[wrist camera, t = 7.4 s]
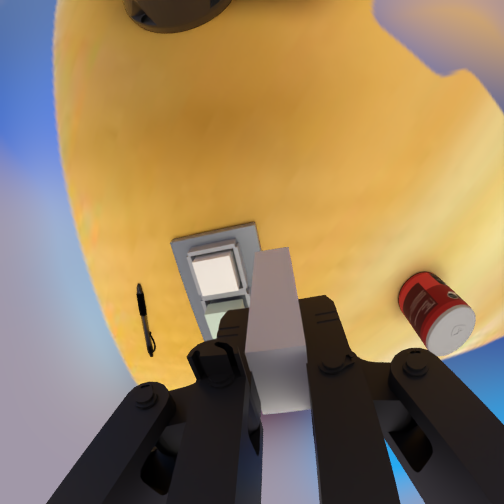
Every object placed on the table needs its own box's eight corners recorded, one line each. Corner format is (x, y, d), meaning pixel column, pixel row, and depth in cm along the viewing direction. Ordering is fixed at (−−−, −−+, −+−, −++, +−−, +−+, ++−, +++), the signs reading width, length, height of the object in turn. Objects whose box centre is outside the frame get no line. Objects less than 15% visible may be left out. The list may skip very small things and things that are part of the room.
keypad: (173, 239, 37) (165, 248, 34) (255, 222, 36) (254, 229, 32) (216, 360, 44) (212, 375, 41) (283, 352, 43) (284, 366, 39)
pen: (157, 353, 45) (157, 358, 44) (148, 354, 45) (148, 358, 44) (146, 282, 40) (145, 285, 39) (135, 282, 40) (134, 286, 39)
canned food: (441, 301, 39) (475, 339, 28) (401, 322, 40) (429, 366, 30) (436, 262, 36) (476, 296, 26) (392, 283, 38) (425, 325, 28)
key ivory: (196, 255, 35) (191, 262, 33) (231, 248, 35) (229, 255, 32) (206, 286, 37) (202, 296, 34) (240, 281, 36) (238, 290, 34)
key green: (208, 304, 36) (204, 314, 33) (242, 298, 35) (240, 309, 33) (217, 332, 37) (214, 343, 35) (250, 327, 37) (249, 339, 34)
